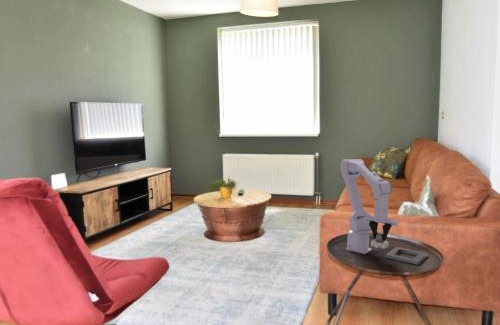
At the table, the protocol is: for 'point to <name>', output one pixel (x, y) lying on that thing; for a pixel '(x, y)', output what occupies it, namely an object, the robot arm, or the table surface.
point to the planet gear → (379, 241)
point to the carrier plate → (418, 259)
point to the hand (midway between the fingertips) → (379, 239)
